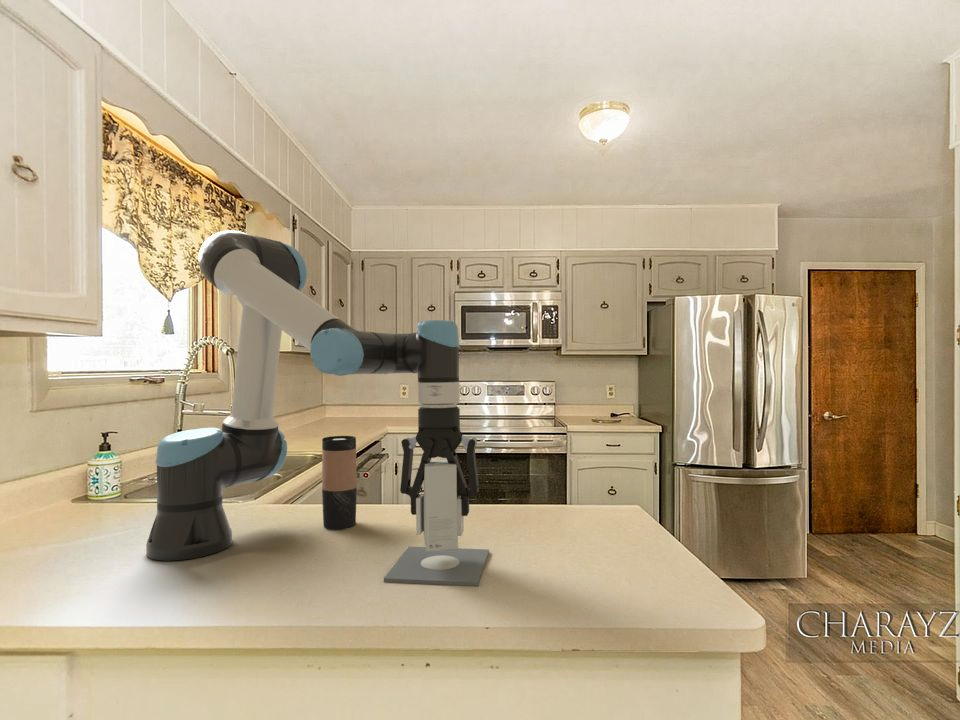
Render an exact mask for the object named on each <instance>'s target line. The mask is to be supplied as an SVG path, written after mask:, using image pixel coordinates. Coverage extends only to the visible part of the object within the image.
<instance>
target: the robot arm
mask: <svg viewBox="0 0 960 720" xmlns="http://www.w3.org/2000/svg"><path fill="white" fill-rule="evenodd" d="M198 265H199V269H200V272H201V273H202V274H203V276H204V278H205V280H206V281H208V282H209V283H210V284H211V285H212V286H214V287H215V288H216V289H217V290H219V291H220V292H222V294H226V295H227V296H235V299H236V300H237V301H238V302H239V304H241V316H240V317H241V318H240V327H239V335H238V345H237V353H236V354H237V355H236V363H235V364H236V366H235V375H234V382H233V392H232V393H233V395H232V402H231V411H230V412H231V413H230V414H229V415H228V416H227V417H225V419H223V420H222V426H221V428H217V427H200V428H195V429H187V430H182V431H178V432H175V433H171V434H169V435H166V436H165V437H163V438H162V439H161V440H160V441H159V442H158V444H157V449H156V450H157V451H156V458H155V464H156V514H155V515H156V516H155V517H154V521H153V523H152V526H151V529H150V532H149V537H148V539H147V541H146V551H145V553H146V556H147V558H148V559H151V560H157V561H163V562H164V561H166V562H167V561H185V560H191V559H197V558H201V557H205V556H209V555H213V554H215V553H216V554H217V553H218V552H221V551H223V550H225V549H227V548H229V547H230V546H231V545H232V543H233V532H232V528H231V527H230V523H229V520H228V517H227V514H226V512H225V509H224V505H223V489H227V488H230V487H234V486H238V485H243V484H249V483H255V482H259V481H262V480H264V479H267V478H270V477H272V476H274V475H275V474H277V473H278V472H279V471H280V470H281V468H282V467H283V466H284V464H285V461H286V459H287V454H288V444H287V440H285V438H286V437H285V435H284V433H283V432H282V431H281V430H280V429H279V425H280V424H279V422H278V421H277V420H276V419H275V417H274V407H275V406H274V405H275V396H276V389H277V388H276V387H277V380H278V379H277V378H278V377H277V376H278V368H279V361H280V360H279V359H280V350H281V343H282V342H281V341H282V332H284V333H285V334H287V335H288V336H290V337H291V338H293V340H295V341H296V342H298V344H300V345H301V346H303V347H304V348H305V349H306V350H308V351H310V353H309V355H310V360H312V362H313V364H314V365H313V366H314V367H315V368H316V369H317V370H318V371H320V372H321V373H323V374H327V375H335V376H341V377H342V376H349V375H377V374H378V375H389V374H417V403H418V404H419V405H421V407H419V408H418V409H417V411H418V413H417V414H418V415H417V416H418V417H417V418H418V419H417V420H418V421H417V422H418V423H417V425H418V427H417V429H418V430H417V432H416V435H415V436H413V437H406V438H404V439H402V440H401V446H402V451H403V456H402V457H403V458H402V459H403V460H402V469H401V478H400V479H401V481H400V489H399V491H400V493H401V494H405V495H408V496H409V497H410V513H411V515H412V516H415V517H416V518H415V522H416V524H415V526H416V527H415V529H416V535H418V536H419V535H422V534H423V533H424V494H420V493H421V489H422V487H423V485H424V472H425V464H428V463H429V462H430V461H432V458H433V459H436V458H442V459H446V460H447V461H448V463H449V464H456V466H457V491H458V492H459V495H458V496H457V529H458V537H461V536H463V534H464V531H465V529H464V527H465V525H464V523H465V522H464V517H467V516H468V515H469V513H470V497H472V496H476V495H477V494H478V493H479V490H480V484H479V474H478V466H477V459H476V447H477V443H478V439H477V438H476V437H472V438H470V437H466V436H463V433H462V431H461V423H460V422H461V421H460V420H461V416H460V413H461V411H460V408H459V406H457V405H458V404H459V403H460V402H461V401H460V395H461V394H460V377H459V373H460V369H459V368H460V367H459V366H460V348H461V346H460V345H461V344H460V340H459V328H458V325H457V323H456V322H455V321H452V320H446V319H432V320H431V319H429V320H422V321H418V323H417V328H416V332H411V333H389V332H388V333H387V332H374V331H366V330H365V331H364V330H358V329H356V328H354V327H352V326H350V325H349V324H348V323H346V322H344V321H343V320H342V319H340V318H339V317H337V316H336V315H335V314H333V313H332V312H330V311H329V310H328V309H327V308H324V306H322V305H320V304H319V303H317V302H316V301H315V300H313V299H311V298H310V297H309V296H307V295H306V294H305V293H303V292H302V290H301V289H304V287H305V285H306V282H307V276H308V274H307V266H306V262H305V260H304V257H303V256H302V255H301V253H300V252H299V250H297V249H296V248H295V247H293V246H291V245H290V244H286V243H284V242H282V241H279V240H274V239H270V238H267V237H261V236H258V235H253V234H249V233H245V232H242V231H239V230H223V231H219V232H216V233H214V234H212V235H211V236H209V237H207V239H206V240H205V241H204V242H203V243H202V245H201V247H200V249H199V252H198ZM417 444H418V445H419V447H420V448H421V450H422V451H423V453H422V455H421V458H420V463H419V465H418V468H417V472H416V475H415V478H414V480H413V483H412V471H413V462H414V449H415V448H416V445H417ZM460 444H462V445H463V449H464V450H465V451H466V464H467V470H468V471H467V472H468V481H469V487H468V484H467V482H466V478H465V476H464V473H463V470H462V466H461V464H460V462H459V458H458V454H457V452H456V450H457V448H458V447H459V445H460ZM411 483H412V485H411Z"/></svg>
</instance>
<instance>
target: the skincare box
mask: <svg viewBox="0 0 960 720" xmlns="http://www.w3.org/2000/svg"><path fill="white" fill-rule="evenodd" d="M457 491H458V487H457V466H456V464H449V463H448V461H447V459H438V460H437V459H436V460H431V461H430V462H429V463H428V464H425V472H424V481H423V495H424V531H423V538H424V539H423V540H424V547H425V548H426V551H427V552H431V551H458V548H459V536H458V529H457V498H458V492H457Z"/></svg>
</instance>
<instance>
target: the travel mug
mask: <svg viewBox="0 0 960 720" xmlns="http://www.w3.org/2000/svg"><path fill="white" fill-rule="evenodd" d="M321 441H322V445H321V447H322V449H321V451H322V452H321V453H322V455H321V456H322V457H321V460H322V461H321V462H322V463H321V493H322V494H321V496H322V517H323V518H322V521H323V523H322V524H323V528H324V529H325V530H328V531H341V530H349V529H351V528H354V527H355V526H356V524H357V523H356V522H357V519H356V518H357V495H358V494H357V491H358V490H357V487H358V485H357V483H358V482H357V475H358V474H357V437H356V436H353V435H332V436H331V435H330V436H326V437H322V439H321Z"/></svg>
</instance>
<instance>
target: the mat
mask: <svg viewBox="0 0 960 720" xmlns="http://www.w3.org/2000/svg"><path fill="white" fill-rule="evenodd" d="M489 554H490V549H487V548H486V549H483V548H459V547H458V551H431V552H427V551H426V548H425V546H408V547H406V549H405V551H404V552H403V553H402V554H401V555H400V557H399V558H398V560H397V561H395V562H394V564H393V566H392V567H391V569H389V570H388V572H387V573H386V574H385V576H383V583H402V584H403V583H404V584H425V585H443V586H444V585H445V586H448V585H449V586H462V587H463V586H467V587H469V586H470V587H479V583H480V580H481V579H482V575H483V572H484V569H485V566H486V563H487V560H488V558H489Z"/></svg>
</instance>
